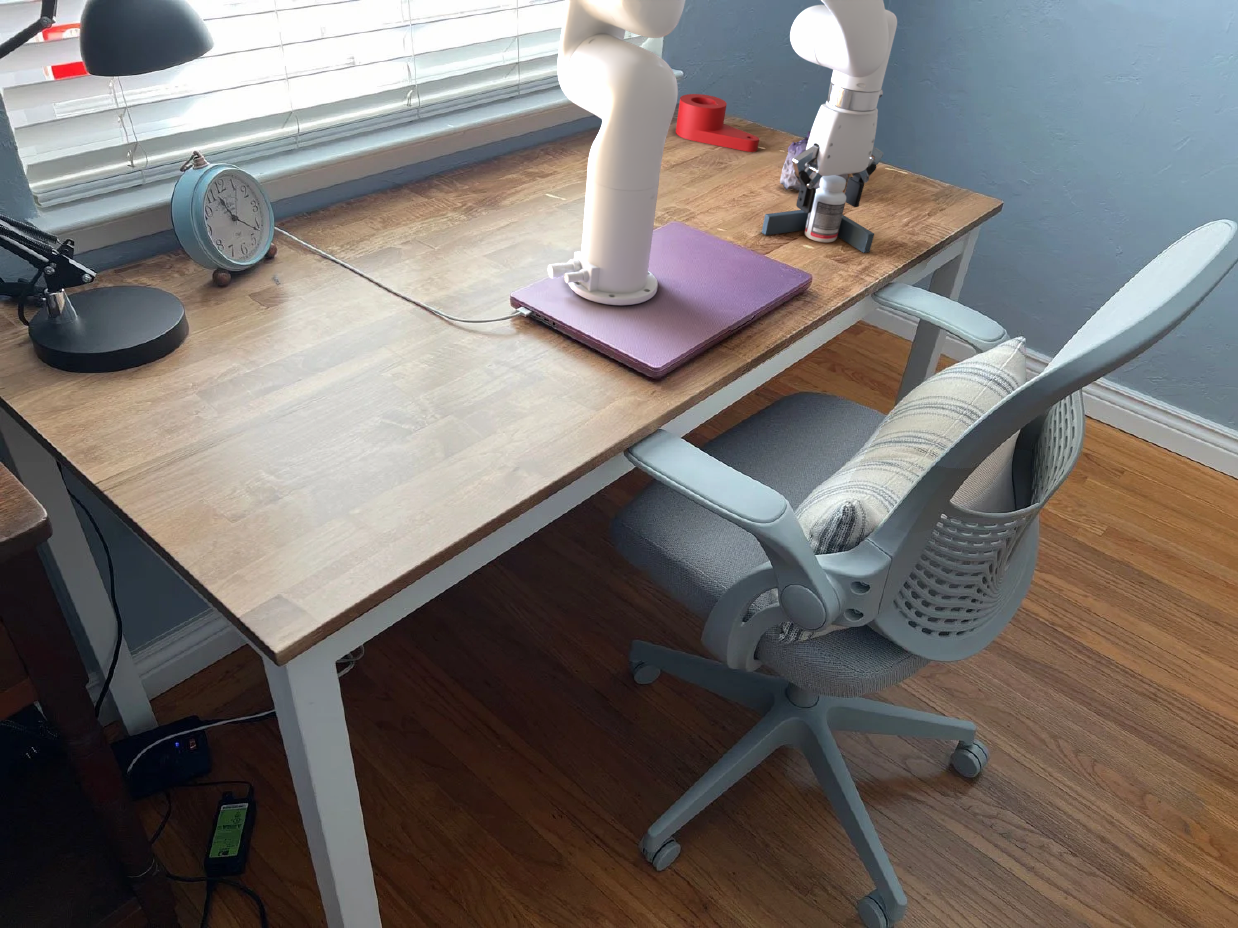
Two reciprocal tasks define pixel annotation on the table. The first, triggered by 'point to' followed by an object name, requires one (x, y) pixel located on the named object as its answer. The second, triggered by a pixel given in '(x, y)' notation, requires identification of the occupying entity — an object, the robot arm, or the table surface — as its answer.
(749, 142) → the lever
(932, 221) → the table surface
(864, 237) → the corner
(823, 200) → the pill bottle
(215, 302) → the table surface
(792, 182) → the geode
